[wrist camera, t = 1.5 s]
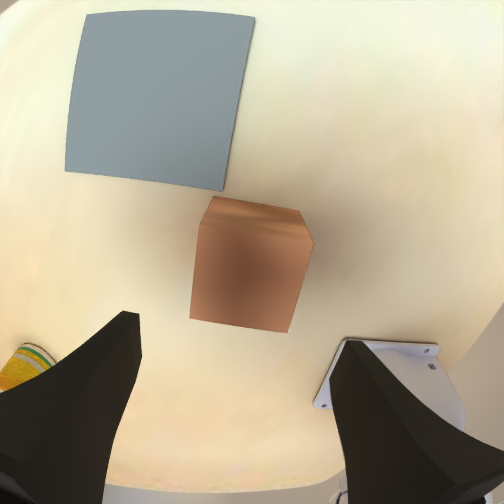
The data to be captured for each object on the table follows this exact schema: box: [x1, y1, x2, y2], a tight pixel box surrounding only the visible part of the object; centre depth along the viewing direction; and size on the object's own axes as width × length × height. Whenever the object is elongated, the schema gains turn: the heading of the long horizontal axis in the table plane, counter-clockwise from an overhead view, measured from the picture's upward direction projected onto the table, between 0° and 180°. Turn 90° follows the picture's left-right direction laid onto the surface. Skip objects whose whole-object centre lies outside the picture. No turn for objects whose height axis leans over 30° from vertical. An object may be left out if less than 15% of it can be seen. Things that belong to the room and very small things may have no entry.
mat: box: [65, 10, 255, 192], centre depth 15 cm, size 10×10×1 cm
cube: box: [190, 196, 313, 333], centre depth 17 cm, size 5×5×5 cm
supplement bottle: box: [0, 344, 56, 393], centre depth 20 cm, size 5×5×10 cm
